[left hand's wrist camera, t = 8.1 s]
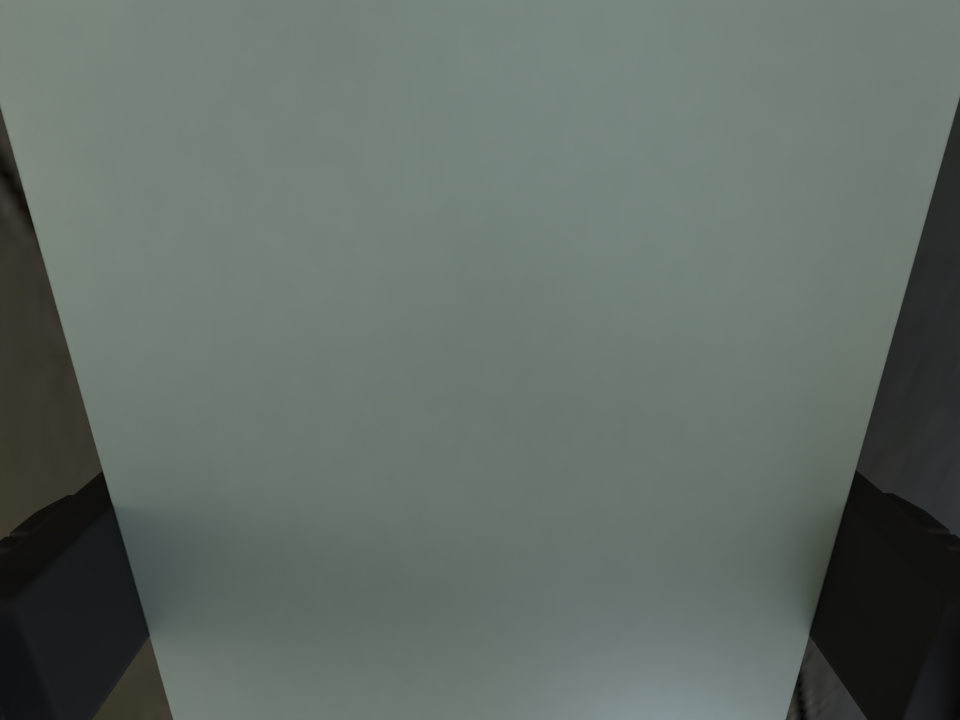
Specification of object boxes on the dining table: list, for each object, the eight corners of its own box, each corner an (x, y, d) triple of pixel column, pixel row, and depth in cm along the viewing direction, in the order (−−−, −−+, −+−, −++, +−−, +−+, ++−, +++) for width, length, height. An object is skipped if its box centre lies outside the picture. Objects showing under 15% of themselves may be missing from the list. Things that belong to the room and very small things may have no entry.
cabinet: (256, -164, 14) (-310, -980, 4) (700, -163, 14) (1263, -975, 4) (325, 441, 20) (172, 725, 10) (633, 441, 20) (786, 723, 10)
